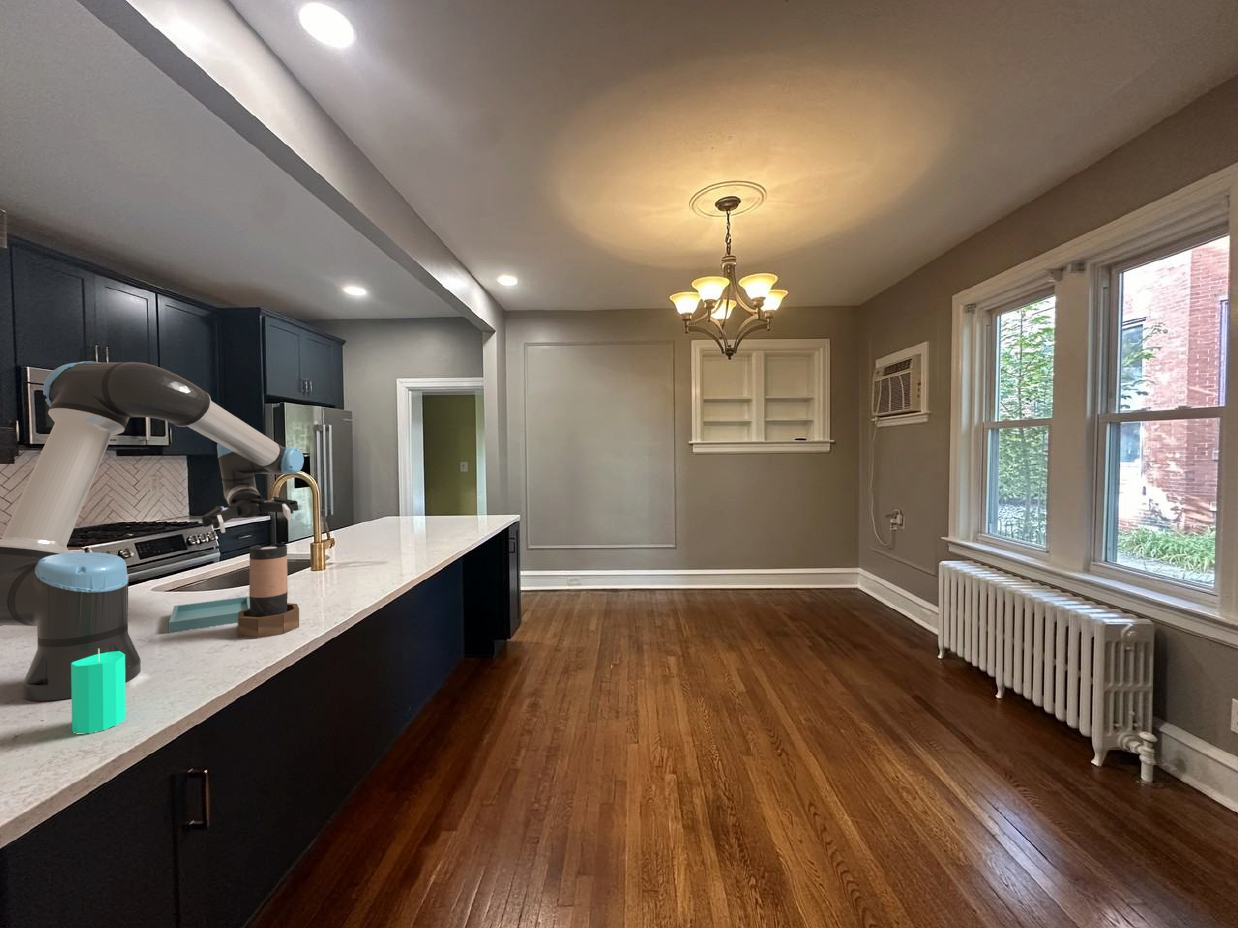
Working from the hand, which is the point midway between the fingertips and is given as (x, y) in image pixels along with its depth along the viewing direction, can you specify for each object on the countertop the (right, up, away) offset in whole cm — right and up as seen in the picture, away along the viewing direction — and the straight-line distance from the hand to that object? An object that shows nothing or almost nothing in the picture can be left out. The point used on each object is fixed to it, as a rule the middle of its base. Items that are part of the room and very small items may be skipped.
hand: (257, 520), depth 127 cm
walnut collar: (+4, -26, -2) cm, 26 cm away
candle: (+7, -27, -46) cm, 54 cm away
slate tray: (-15, -25, +6) cm, 30 cm away
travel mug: (+4, -26, -2) cm, 27 cm away
